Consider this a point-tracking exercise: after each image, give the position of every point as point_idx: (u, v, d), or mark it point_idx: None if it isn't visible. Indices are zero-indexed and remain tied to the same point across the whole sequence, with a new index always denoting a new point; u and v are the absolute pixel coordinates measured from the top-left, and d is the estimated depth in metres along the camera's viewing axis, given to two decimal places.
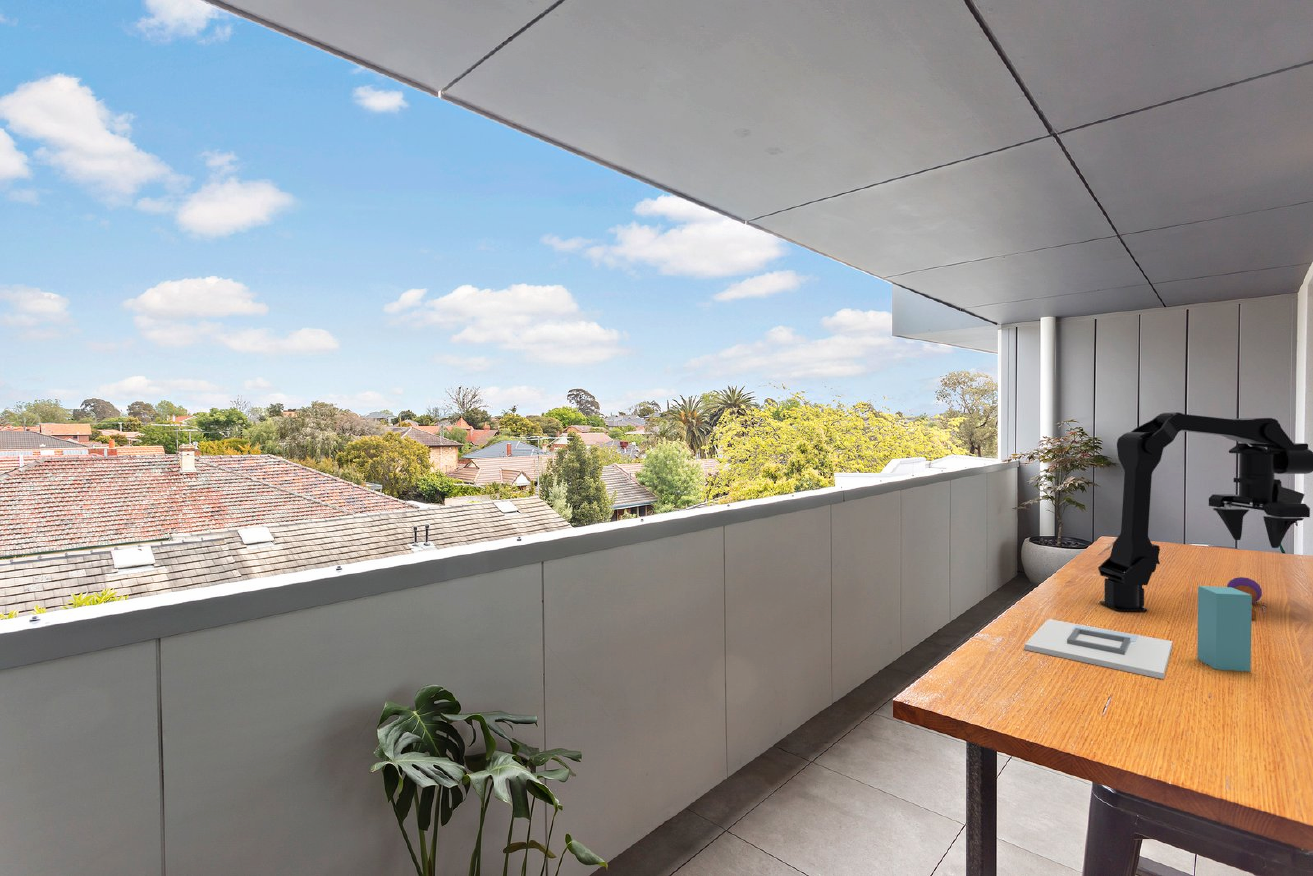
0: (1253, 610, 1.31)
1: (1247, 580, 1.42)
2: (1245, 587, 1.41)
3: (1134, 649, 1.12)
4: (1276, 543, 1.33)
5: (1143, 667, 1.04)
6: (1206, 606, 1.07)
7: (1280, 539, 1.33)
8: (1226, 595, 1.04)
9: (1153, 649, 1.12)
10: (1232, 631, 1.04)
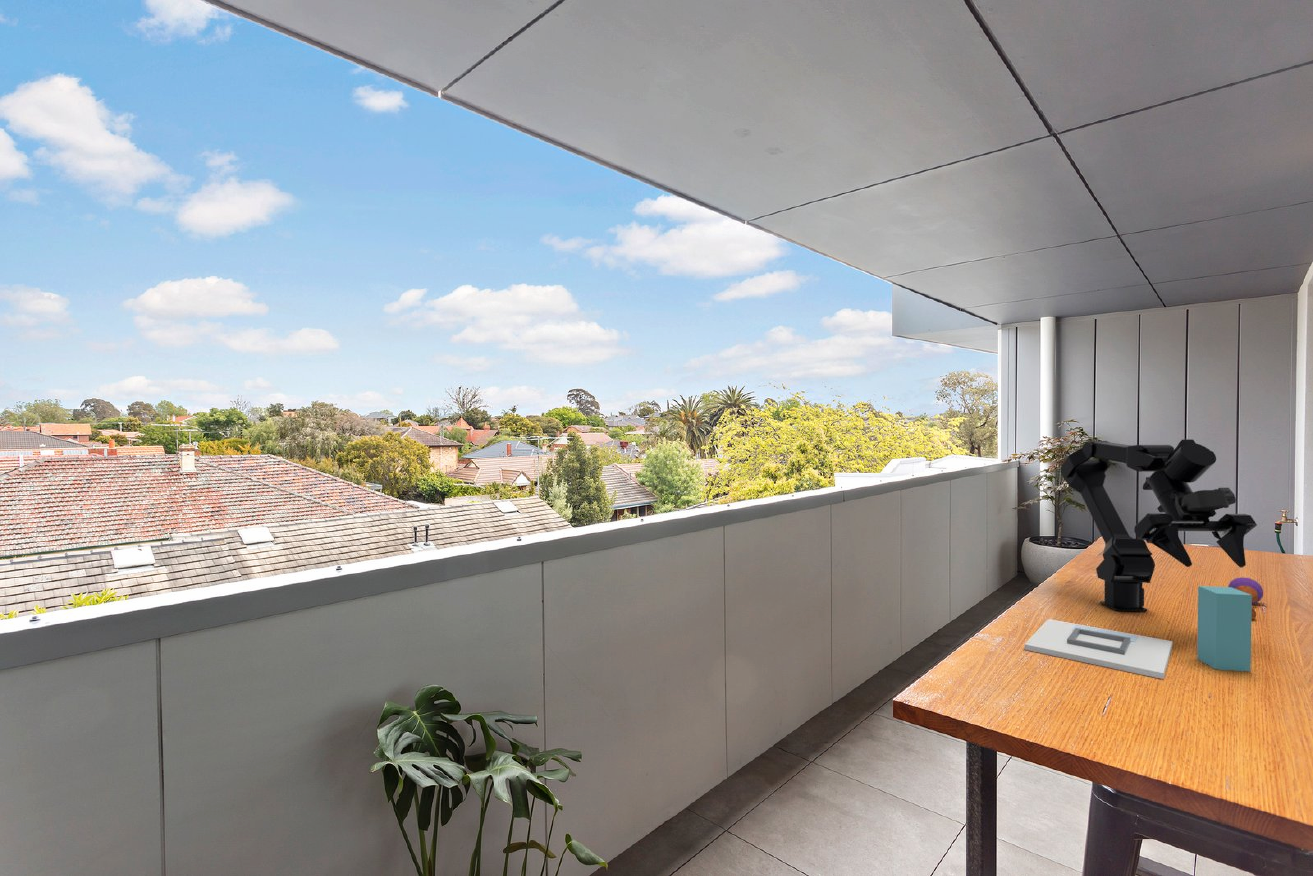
0: (1253, 610, 1.30)
1: (1248, 580, 1.42)
2: (1246, 587, 1.41)
3: (1134, 649, 1.12)
4: (1184, 560, 1.15)
5: (1143, 667, 1.04)
6: (1206, 606, 1.07)
7: (1183, 554, 1.16)
8: (1226, 595, 1.04)
9: (1153, 649, 1.12)
10: (1232, 631, 1.04)
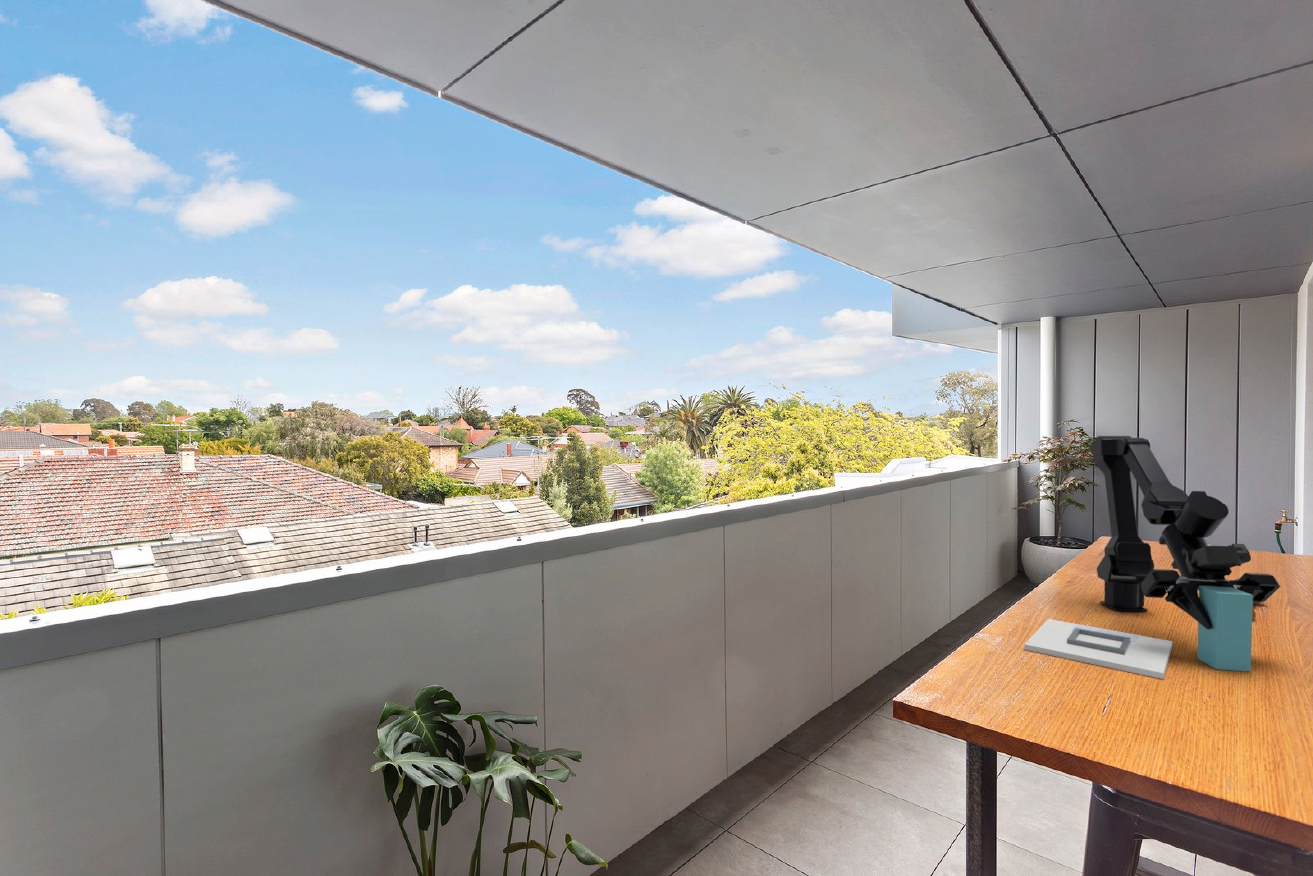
0: (1252, 610, 1.30)
1: None
2: None
3: (1134, 649, 1.12)
4: (1204, 622, 1.07)
5: (1143, 667, 1.04)
6: (1207, 606, 1.07)
7: (1202, 615, 1.07)
8: (1227, 595, 1.04)
9: (1153, 649, 1.12)
10: (1232, 631, 1.04)
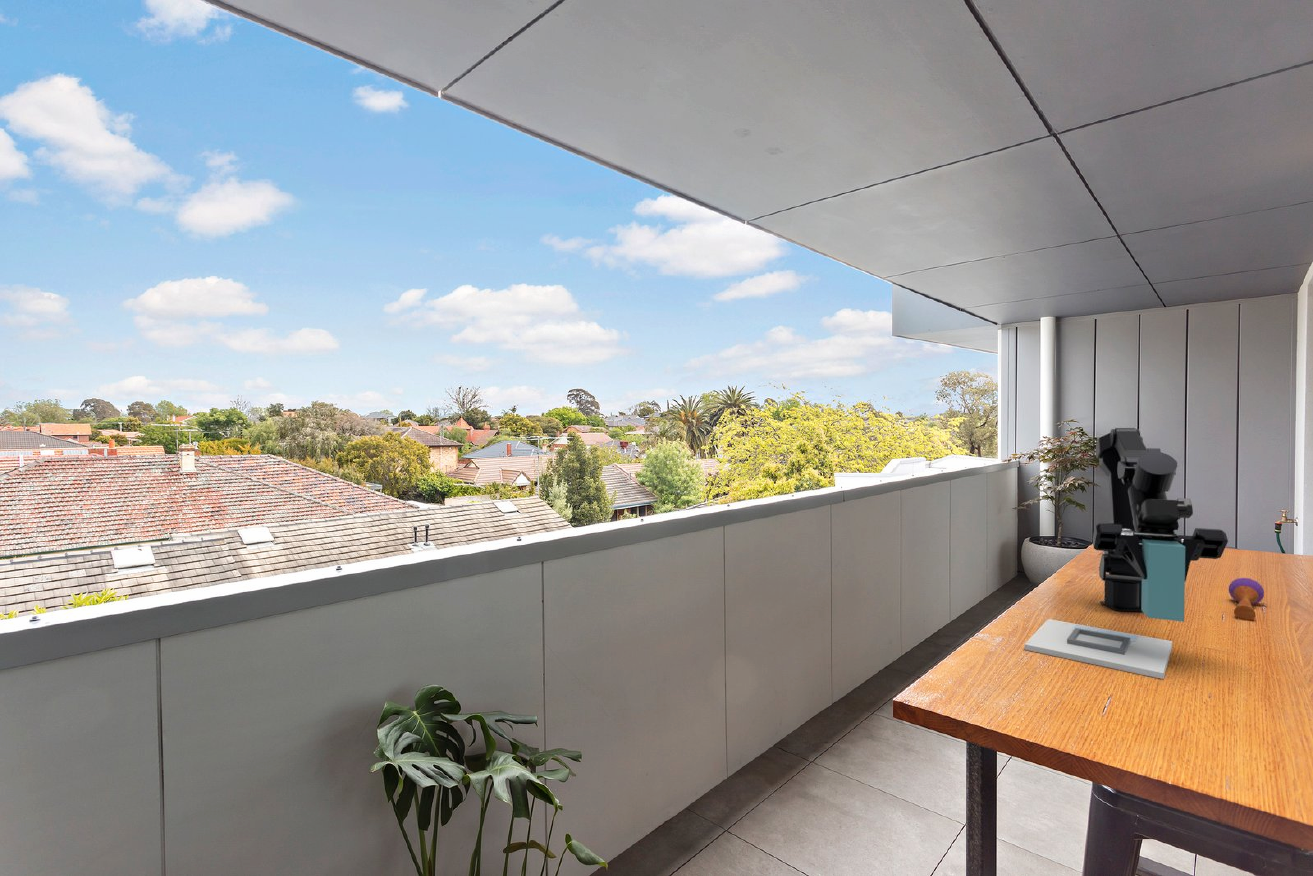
0: (1252, 610, 1.30)
1: (1249, 581, 1.42)
2: (1247, 587, 1.40)
3: (1134, 649, 1.12)
4: (1141, 572, 1.11)
5: (1143, 667, 1.04)
6: (1145, 558, 1.11)
7: (1139, 566, 1.11)
8: (1158, 546, 1.08)
9: (1153, 649, 1.12)
10: (1165, 581, 1.08)
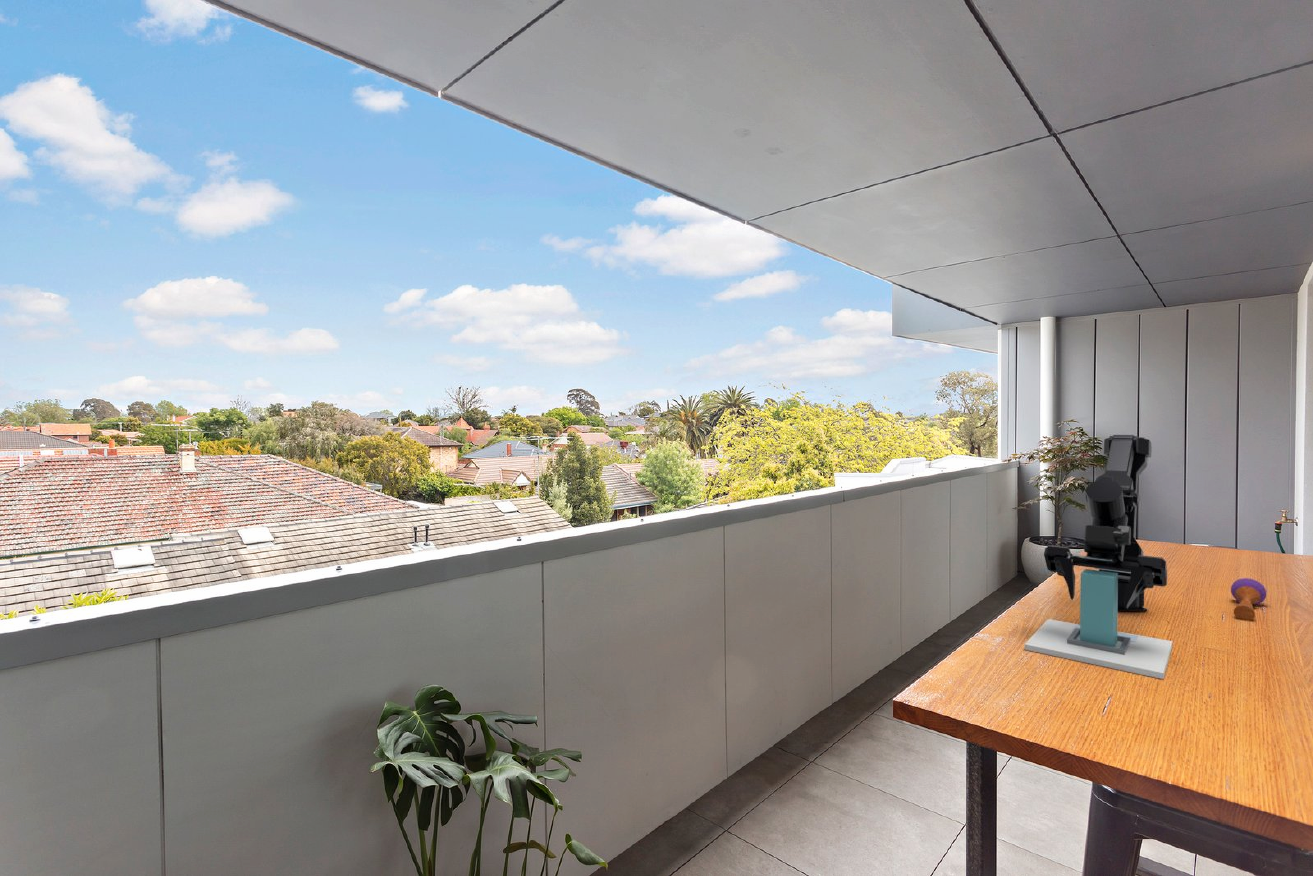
0: (1252, 611, 1.30)
1: (1251, 581, 1.41)
2: (1248, 588, 1.40)
3: (1134, 649, 1.12)
4: None
5: (1143, 667, 1.04)
6: None
7: (1068, 587, 1.18)
8: (1089, 576, 1.14)
9: (1153, 649, 1.12)
10: (1095, 610, 1.13)
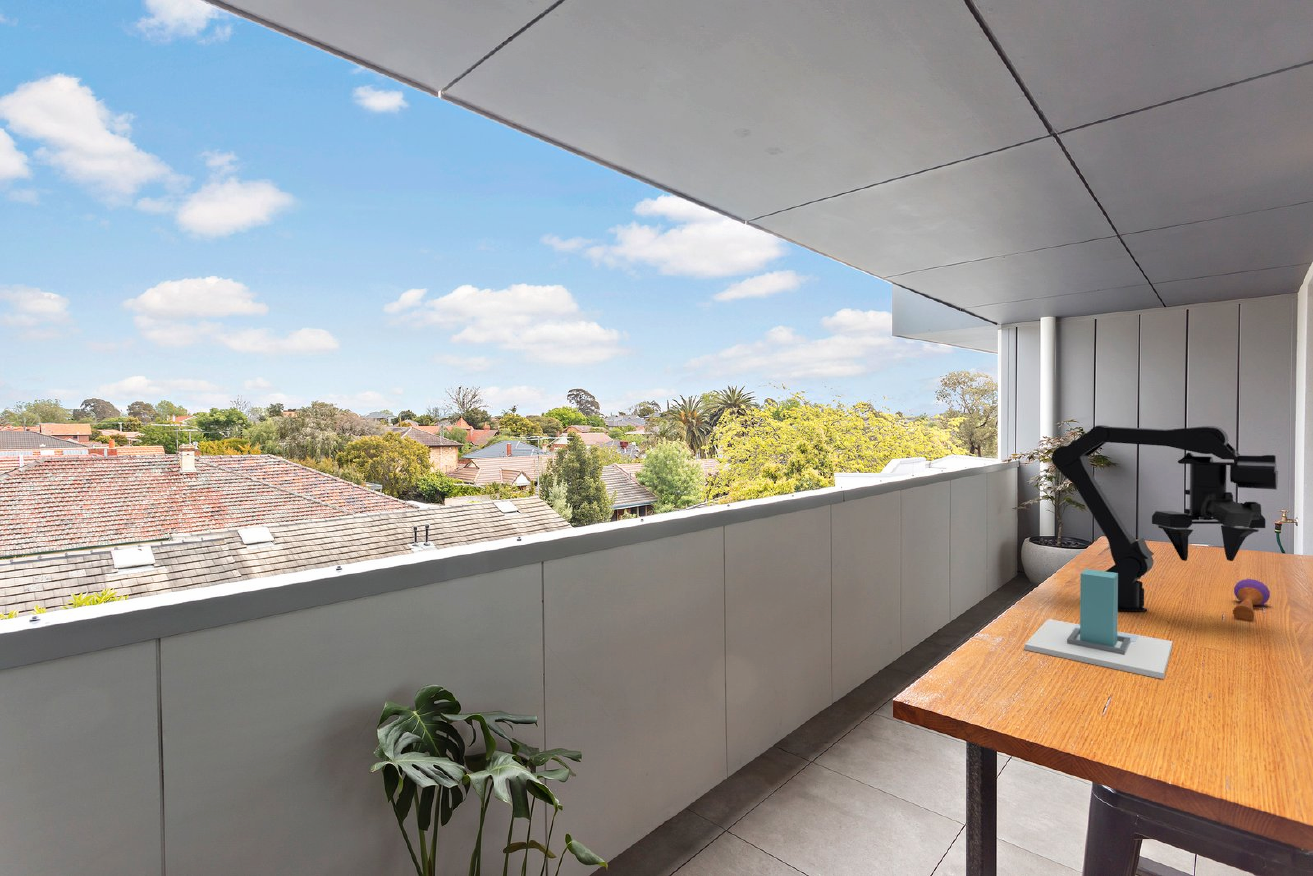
0: (1251, 611, 1.30)
1: (1254, 582, 1.41)
2: (1251, 588, 1.39)
3: (1134, 649, 1.12)
4: (1182, 555, 1.29)
5: (1143, 667, 1.04)
6: None
7: (1183, 551, 1.29)
8: (1089, 576, 1.14)
9: (1153, 649, 1.12)
10: (1095, 610, 1.13)
